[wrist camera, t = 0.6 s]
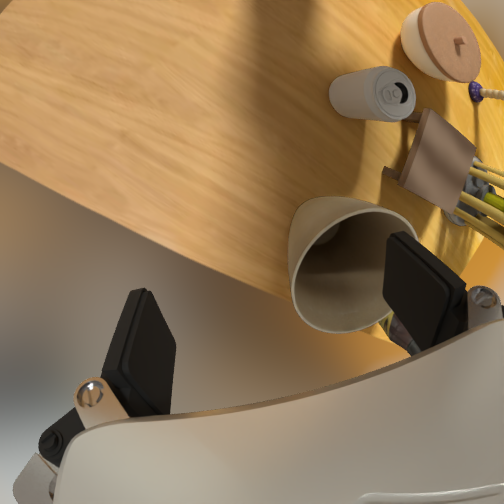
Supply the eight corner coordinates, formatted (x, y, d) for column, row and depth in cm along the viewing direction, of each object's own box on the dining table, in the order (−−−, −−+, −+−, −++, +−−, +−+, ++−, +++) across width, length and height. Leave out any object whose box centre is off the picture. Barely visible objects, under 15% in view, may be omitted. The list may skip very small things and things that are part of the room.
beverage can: (372, 112, 34) (425, 117, 23) (335, 123, 34) (380, 129, 24) (359, 71, 31) (409, 61, 20) (319, 80, 31) (361, 69, 21)
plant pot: (322, 150, 36) (383, 175, 22) (375, 222, 42) (435, 272, 28) (243, 221, 39) (258, 285, 25) (306, 281, 45) (340, 352, 31)
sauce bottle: (352, 284, 47) (407, 366, 29) (380, 262, 46) (445, 337, 28) (365, 304, 50) (415, 382, 32) (391, 284, 48) (449, 357, 31)
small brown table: (401, 106, 33) (430, 108, 27) (448, 140, 36) (476, 147, 30) (377, 175, 38) (403, 187, 32) (426, 200, 41) (452, 215, 35)
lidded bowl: (437, 22, 26) (480, 14, 16) (448, 87, 32) (495, 90, 22) (379, 6, 25) (421, -13, 16) (393, 78, 31) (441, 75, 22)
